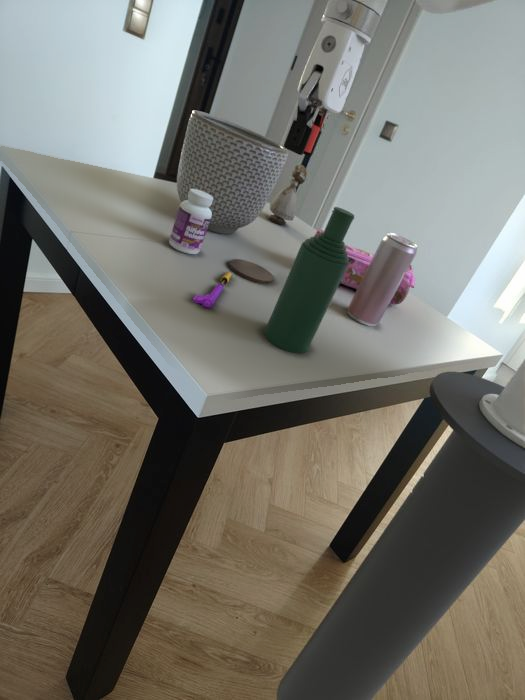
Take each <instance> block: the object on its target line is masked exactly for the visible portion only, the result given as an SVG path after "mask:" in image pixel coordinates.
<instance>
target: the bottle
mask: <svg viewBox="0 0 525 700" xmlns="http://www.w3.org/2000/svg"><path fill="white" fill-rule="evenodd" d="M331 212H332V213H331V215H330V217H329V219H328V221H327V223H326V226H325V229H324V230H323V231H324V233H322V232H321V233H320V234H319V235H315V234H314V235H315V237H314V236H310V237H309V238H306V239H304V241H302V243H301V245H300V247H299V249H298V252H297V253H296V257H295V259H294V261H293V263H292V265H291V268H290V270H289V273H288V275H287V277H286V280H285V282H284V284H283V287H282V289H281V291H280V293H279V296H278V299H277V301H276V303H275V305H274V308H273V310H272V312H271V315H270V317H269V319H268V322H267V324H266V326H265V329H264V331H263V332H264V337H266V339H267V340H268V341H269V342H270V343H272V344H273V345H274V346H276V347H278V348H280V349H281V350H284V351H287V352H289V353H294V354H304V353H306V352H308V350H309V348H310V346H311V343H312V341H314V337H315V336H316V333H317V331H318V329H319V327H320V326H321V323H322V321H323V319H324V317H325V315H326V313H327V311H328V309H329V306H330V305H331V302H332V300H333V298H334V296H335V295H336V292H337V290H338V288H339V286H340V282H341V280H342V278H343V276H344V273H345V271H346V269H347V267H348V265H349V262H348V261H349V257H348V256H347V255H348V253H347V252H346V247H345V246H344V245H346V242H344V240H345V237H346V236H347V233H348V231H349V229H350V228H351V227H350V226H351V224H352V222H353V221H354V220H355V214H354V213H352V212H351V211H348V210H346V209H344V208H341V207H339V206H335V207H334V206H333V210H331Z"/></svg>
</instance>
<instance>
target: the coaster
mask: <svg viewBox="0 0 525 700" xmlns="http://www.w3.org/2000/svg"><path fill="white" fill-rule="evenodd" d="M229 268H230V269H231V270H232V272H234V273H235V274H236V275H238V276H240V277H242V278H243V279H246V280H248V281H251V282H254V283H257V284H263V285H269V284H272V283H273V282H274V280H275V279H274V278H275V277H274V275H273V273H271V272H270V271H269V270H268V269H267V268H265V267H264V266H262V265H259V264H258V263H256V262H252V261H249V260H245V259H240V258H234V259H231V260H230V261H229Z"/></svg>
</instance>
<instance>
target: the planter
mask: <svg viewBox="0 0 525 700" xmlns="http://www.w3.org/2000/svg"><path fill="white" fill-rule="evenodd" d="M289 152H290V150H288V149H286V148H285V147H284V145H283V144H282V143H279V142H277V141H275V140H273V139H271V138H269V137H267V136H265V135H263V134H261V133H258V132H256V131H255V130H252V129H250V128H247V127H245V126H242V125H240V124H238V123H235V122H232V121H230V120H227V119H225V118H223V117H220V116H217V115H214V114H211V113H207V112H204V111H201V110H197V109H196V110H195V109H194V110H192V111H191V113H190V116H189V119H188V123H187V127H186V131H185V135H184V139H183V145H182V148H181V153H180V158H179V163H178V168H177V174H176V192H177V195H178V198H179V201H180V203H182V202H183V201H185V200H188V193H189V191H190V189H197V190H200V191H203V192H205V193H207V194H209V195H211V196H212V197H213V201H212V205H211V206H210V207H209V209H210V210H211V212H212V217H211V220H210V223H209V226H208V229H207V231H210V232H213V233H216V234H220V235H233V234H234V233H236V232H237V230H239V229H242V228H244V227H247V226H248V225H250V224H251V223H253V222H254V221H255V220H256V219H257V218H258V217H259V215H260V214H261V213H262V211H263V209H264V208H265V206H266V205H267V202H268V201H269V198H270V196H271V194H272V192H273V190H274V189H275V186H276V184H277V181H278V179H279V177H280V175H281V174H282V173H281V172H282V170H283V168H284V166H285V164H286V162H287V160H288V155H289Z"/></svg>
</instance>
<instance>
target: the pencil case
mask: <svg viewBox="0 0 525 700" xmlns="http://www.w3.org/2000/svg"><path fill="white" fill-rule="evenodd" d="M321 232H322V233H324V230H323V229H318V230H317V231H316V232H315V234H314V235H313V237H315V235H319V234H320V233H321ZM344 246H345V247H346V252H347V253H348V255H347V256H348V257H349V261H348V262H349V265H348V267H347V269H346V271H345V273H344V276H343V278H342V280H341V282H340V284H341V285H344V286H346V287H349V288H351V289H355V290H357V288H358V286H359V284H360V282H361V280H362V278H363V276H364V274H365V272H366V270H367V268H368V266H369V264H370V262H371V260H372V258H373V256H374V254H375V253H371V252H368V251H364V250H362V249H359V248H358V247H357V248H356V247H353V246H350V245H348V244H345V245H344ZM415 283H416V276H415V275H414V266H413V265H412V264H410V266H409V268H408V270H407V272H406V274H405V275H404V277H403V279H402V281H401V283H400V285H399V287H398V288H397V290H396V292H395V294H394V296H393V298H392V300H391V301H390V303H389V304H391V305H394V306H395V305H400V304H401V303H403V302H404V301H405V299H406V298H407V296H408V294H409V292H410V290H411V288H412V289H414V288H415ZM340 284H339V285H340Z"/></svg>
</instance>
